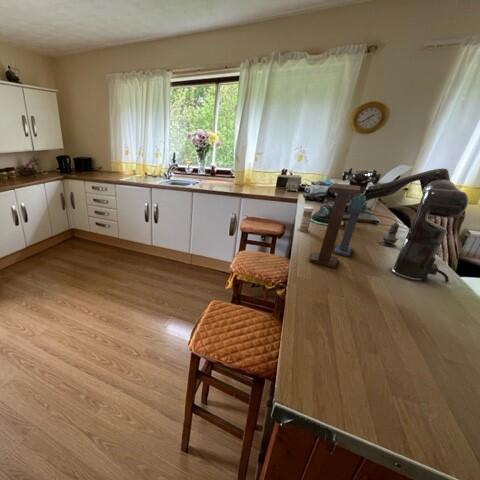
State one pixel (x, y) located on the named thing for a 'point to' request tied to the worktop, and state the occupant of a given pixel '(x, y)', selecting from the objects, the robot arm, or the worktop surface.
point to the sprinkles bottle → (306, 219)
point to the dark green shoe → (323, 215)
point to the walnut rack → (334, 224)
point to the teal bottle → (358, 202)
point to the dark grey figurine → (391, 236)
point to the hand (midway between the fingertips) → (362, 170)
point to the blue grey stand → (349, 231)
